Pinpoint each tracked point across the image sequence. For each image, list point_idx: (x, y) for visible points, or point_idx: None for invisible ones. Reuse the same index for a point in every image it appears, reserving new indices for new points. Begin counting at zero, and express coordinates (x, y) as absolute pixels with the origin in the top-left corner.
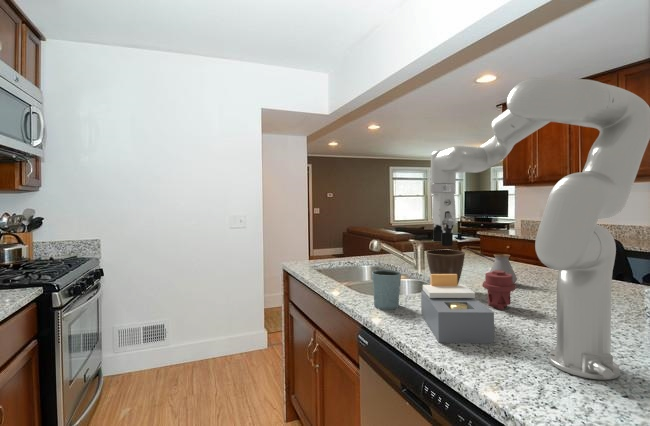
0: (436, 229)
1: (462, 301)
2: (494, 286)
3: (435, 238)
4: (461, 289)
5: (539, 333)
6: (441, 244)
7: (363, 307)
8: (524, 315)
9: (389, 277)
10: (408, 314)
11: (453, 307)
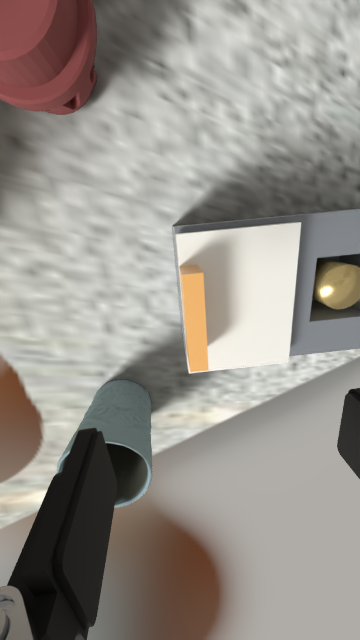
0: (75, 626)
1: (308, 269)
2: (82, 61)
3: (110, 500)
4: (251, 261)
5: (312, 41)
6: (347, 456)
7: None
8: (146, 4)
9: (151, 462)
10: (179, 360)
11: (352, 303)
